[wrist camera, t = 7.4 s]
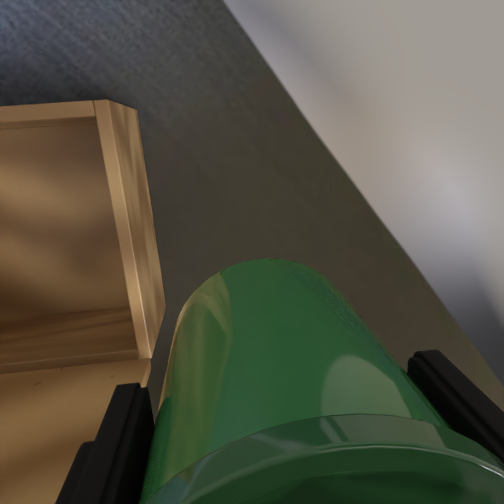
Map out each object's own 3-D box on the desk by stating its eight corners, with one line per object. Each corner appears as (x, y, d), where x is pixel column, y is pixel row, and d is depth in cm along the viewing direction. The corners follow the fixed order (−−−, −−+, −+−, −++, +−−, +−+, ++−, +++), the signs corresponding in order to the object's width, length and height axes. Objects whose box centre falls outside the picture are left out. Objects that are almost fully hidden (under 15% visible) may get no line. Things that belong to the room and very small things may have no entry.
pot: (165, 244, 12) (73, 447, 4) (377, 254, 13) (635, 441, 5) (163, 427, 14) (97, 799, 6) (347, 426, 15) (497, 755, 7)
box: (-78, 123, 26) (-192, 118, 19) (137, 109, 27) (108, 99, 20) (-16, 326, 31) (-88, 385, 24) (166, 307, 32) (151, 359, 25)
